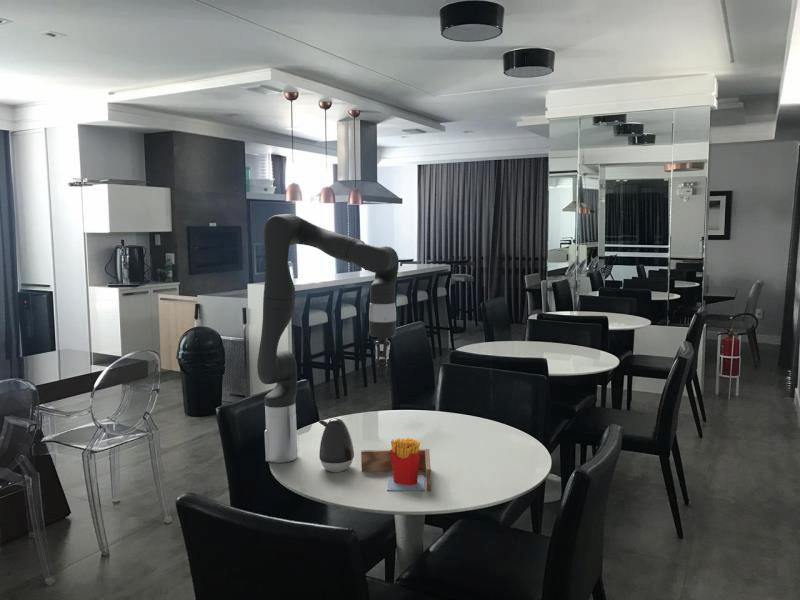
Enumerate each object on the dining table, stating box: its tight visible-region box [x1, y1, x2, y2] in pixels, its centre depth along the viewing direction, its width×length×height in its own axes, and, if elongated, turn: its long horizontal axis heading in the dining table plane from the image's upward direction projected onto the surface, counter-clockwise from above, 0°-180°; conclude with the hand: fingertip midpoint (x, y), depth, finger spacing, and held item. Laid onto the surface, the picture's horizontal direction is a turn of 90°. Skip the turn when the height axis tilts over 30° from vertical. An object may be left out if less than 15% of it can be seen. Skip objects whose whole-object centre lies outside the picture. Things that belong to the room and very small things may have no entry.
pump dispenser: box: [318, 417, 355, 473], centre depth 193 cm, size 10×10×15 cm
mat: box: [386, 474, 426, 492], centre depth 182 cm, size 10×10×1 cm
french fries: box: [389, 437, 421, 485], centre depth 181 cm, size 8×4×12 cm, turn 68°
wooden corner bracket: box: [360, 448, 432, 492], centre depth 184 cm, size 20×16×6 cm
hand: (382, 375), depth 186 cm, fingers open, 8 cm apart
